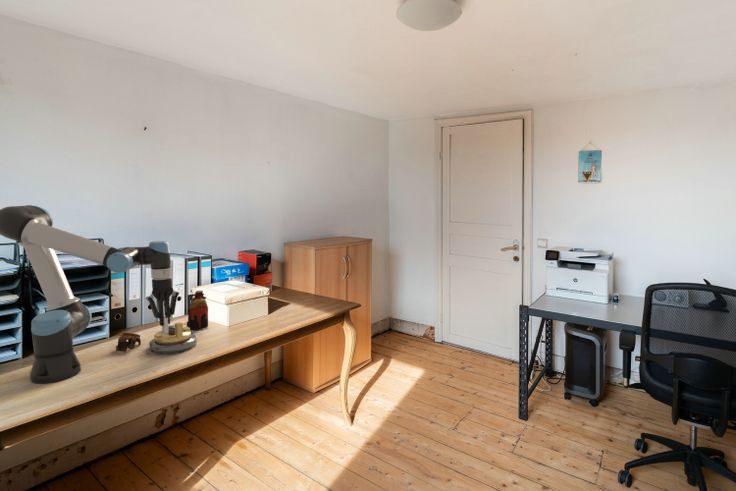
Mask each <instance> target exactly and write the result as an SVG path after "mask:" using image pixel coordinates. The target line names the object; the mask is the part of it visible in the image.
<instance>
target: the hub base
mask: <svg viewBox="0 0 736 491" xmlns="http://www.w3.org/2000/svg"><path fill="white" fill-rule="evenodd" d="M168 329H169V333H168V334H175V324H173V325H168ZM196 345H197V336H196V334H195V333H191V339H189V340H188V341H186V342H183V343H179V344H174V345H158V344H156V343H155V342H154V338H152V339H151V340H150V341H149V351H150V352H151V353H152V354H155V355H174V354H175V355H176V354H178V353H179V354H180V353H182V352H186V351H189V350H191V349H193V348H195V347H196Z"/></svg>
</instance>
